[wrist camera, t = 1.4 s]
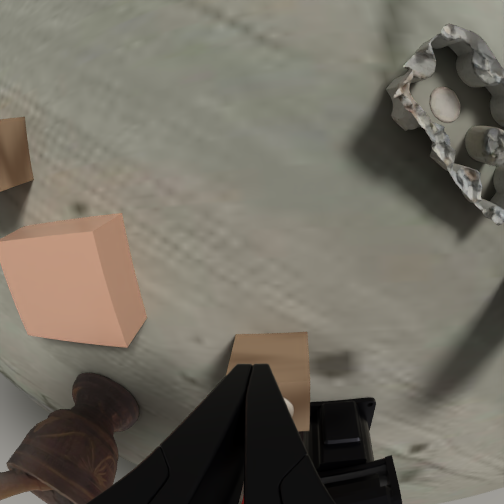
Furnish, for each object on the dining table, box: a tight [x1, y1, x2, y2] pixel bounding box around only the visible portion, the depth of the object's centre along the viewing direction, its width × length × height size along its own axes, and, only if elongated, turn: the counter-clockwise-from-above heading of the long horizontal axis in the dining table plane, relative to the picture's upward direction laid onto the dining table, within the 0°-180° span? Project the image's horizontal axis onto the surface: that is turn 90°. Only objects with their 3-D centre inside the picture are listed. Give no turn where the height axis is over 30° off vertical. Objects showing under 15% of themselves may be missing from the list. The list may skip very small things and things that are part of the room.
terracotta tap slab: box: [0, 213, 147, 348], centre depth 20 cm, size 8×10×4 cm
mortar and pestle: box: [0, 373, 139, 504], centre depth 18 cm, size 12×9×20 cm
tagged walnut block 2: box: [226, 332, 310, 431], centre depth 21 cm, size 5×5×5 cm
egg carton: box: [386, 24, 504, 225], centre depth 14 cm, size 11×8×4 cm
